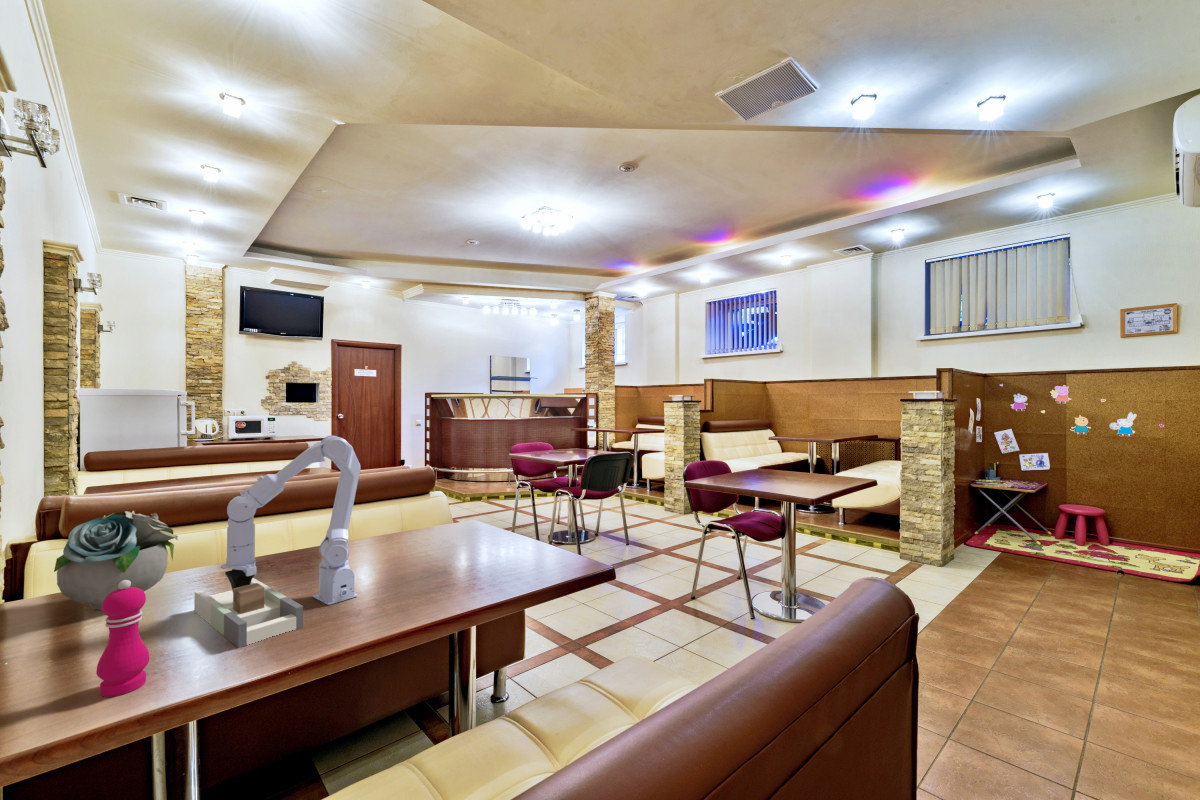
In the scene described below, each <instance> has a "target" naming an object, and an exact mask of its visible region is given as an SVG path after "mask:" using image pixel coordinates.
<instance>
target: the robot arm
mask: <svg viewBox="0 0 1200 800" xmlns="http://www.w3.org/2000/svg"><path fill="white" fill-rule="evenodd" d="M325 458H327V459H329V461H332V462H333V464H334V465H335V466H336V467H337V468H338V469H339V470H340V473H339V476H338V477H339V478H338V483H337V486H336V487H337V488H336V491H335V492H336V493H335V497H334V501H333V508H332V512H331V518H330V522H329V526H328V529H327V531H326V534H325V538H324V539H323V540H322V541H321V543H320V545H319V554H320V555H321V557H322V559H321V561H320V562H319V566H318V570H319V571H318V580H319V581H318V589H319V590H318V593H316V594H312V597H313V598H314V599H316V600H318V601H319V602H322V603H323V604H326V605H327V606H328V605H330V606H331V605H332V604H333V605H334V604H336V603H340V602H343V601H347V600H351V599H353V598H356V597H358V596H359V595H358V593H356V592H355V573H354V571H353V569H352V568H350V560H349V557H350V549H349V546H348V543H349V528H350V523H351V519H352V518H351V517H352V514H353V513H352V512H353V508H354V502H355V497H356V492H357V489H358V483H359V478H360V472H361V463H360V462H359V459H358V457H357V455H356V453H355V450H354V447H353V446H352V445H351V444H350V443H349V442H348V441H347V440H346V439H344V438H343V437H340V436H337V435H327V436H325V437H324V438H323V439H322V440H321V441H317V442H316V443H314V444H313V445H311V446H309V447H308V448H306V449H305V450H304V451H303V452H302V453H300V454H299V455H298V456H296V457H295V458H294V459H292V460H291V461H290V462H289V463H288V464H286V465H285V466H283V468H281V469H280V470H279V471H278V472H277V473H274V474H273V473H267V474H265V475H264V476H263V475H260V476H259V477H257V479H256V480H257V481H256V482H255V483H253V484H252V485H250V487H248V488H247V489H245V490H244V489H243V490H240V491H239V494H240V495H237V496H235V497H233V498H232V499H231V500H230V501H229V502H228V504H227V507H226V513H227V516H228V519H227V525H228V526H227V527H226V529H227V530H226V533H227V534H226V558H225V564H221V565H220V568H221V569H222V570H225V569H230V570H227V571H225V572H224V574H225V576H226V577H227V579H228V581H229V583H230V585H231V590H232V591H233V588H237V587H242V586H246V585H250V583H251V581H252V578H254V577H255V575H257V566H256V560H257V559H256V557H255V556H256V555H255V554H256V549H255V546H256V544H255V543H256V538H255V537H256V524H255V522H254V521H255V520H254V519H255V517H254V516H255V514H256V512H257V509H259V508H263V507H264V506H265V505H267V504H268V503H269V502H271V501H272V500H273V499H274V498H276V497H277V496H278V495H279V494H280V493H283V491H284V489H285V484H286V483H287V482H288V481H290V480H291V479H292V478H294V477H295V476H296V475H298V474H299V473H300V472H302V471H303V470H304V469H306V468H308V467H309V466H310V465H312V464H315V463H320V462H321V463H322V462H325V461H326V460H325Z"/></svg>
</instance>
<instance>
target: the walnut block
mask: <svg viewBox="0 0 1200 800" xmlns="http://www.w3.org/2000/svg"><path fill="white" fill-rule="evenodd" d="M261 608H264V587H263V586H261V585H260V584H258V583H254V584H250V585H246V586H242V587H237V588H233V609H234V610H235V611H236V612H238V613H239V614H243V613H247V612H250V611H254V610H258V609H261Z"/></svg>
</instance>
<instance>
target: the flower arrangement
mask: <svg viewBox="0 0 1200 800" xmlns="http://www.w3.org/2000/svg"><path fill="white" fill-rule="evenodd" d="M150 515H151V516H149V515H145V514H142V513H135V510H132V512H131V511H124V512H122V511H121V512H119V511H118V512H113V513H111V514H109V515H107V516H106V515H105V514H104V515H103V516H100V517H98V518H94V519H92V520H89V521H86V522H83V523H81V524H78V525H77V526H75V527H74V528H73V529H72V530H71V531H70V532H69V535H68V538H67V539H68V540H67V541H66V542H65V545H64V547H63V550H62V551H63V554H61V556H59V557H56V560H55V565H54V570H53V573H56V584H57V587H58V589H59V591H60V592H61V594H62V595H63V596H64V597H66V598H69V599H70V600H72V601H75V602H77V603H84V604H89V605H90V607H91V609H93V610H95V609H99V610H98V611H102V610H101V609H102V603H103V601H104V599H105V598H106V596H107V595H109V594H110V593H111V592H113V591H115V590H117V589H119V588H118V584H119V583H120V582H121V581H123V580H129V581H130V582H131V586H130V587H137V588H139V589H141V590H143V591H144V592H145V591H146V592H147V591H148V590H150V589H151V588H153V587H154V586H155V585H156V584H158V583H159V582H160V581H162V579H163V578H164V575H165V574H166V571H167V568H168V560H169V559H168V556H169V554H168V549H167V547H169V551H170V556H171V557H170V558H171V561H172V562H173V559H174V558H173V557H174V549H175V544H174V543H173V542H171V540H173V539H175V540H177V541H178V538H179V536H178V535H176V534H174V529H172V528H171V527H169V525H167V524H166V523H165V522H162V521H161V520H159V515H158V513H157V512H153V513H151V514H150Z"/></svg>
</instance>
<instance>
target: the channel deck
mask: <svg viewBox="0 0 1200 800" xmlns="http://www.w3.org/2000/svg"><path fill="white" fill-rule="evenodd" d="M254 583H258V584H260V585H261V586H263V587H264V608H261V609H258V610H254V611H250V612H247V613H243V614H239V613H238V612H236V611H235V610H234V609H233V591H232V589H230V590H228V591H227V590H226V591H224V592H219V593H216V594H211V595H210V594H208V592H207V593H206V591H204V590H203V589H200V590H196V591H194V597H193V598H194V602H193V603H194V610H193V611H194V612H195V613H196V614H197V615H198V616H200V618H202V619H203V620H204V621H205V622H207V623H208V624H209V625H210V626H211V627H212V628H213V629H215V630H216V631H217V632H218V633H220V634H221V635H222V636H224V638H226V639H227V640H228V641H230V643H231V644H233V645H234V646H235V645H236V646H235V647H237V648H238V649H240V647H241V648H243V646H244V647H246V645H247V646H250V645H253V644H255V642H256V643H259V642H262V641H265V640H267V639H266V638H268V639H270V638H269V637H271V638H273V637H272V636H275V637H277V636H276V635H278V636H280V635H279V634H281V635H283V634H282V633H284V634H286V633H285V632H287V633H289V631H290V632H293V631H296V630H299V629H302V628H304V606H303V605H302V604H300V603H298V602H297V601H295V600H293V599H292V598H290V597H289V596H286V595H285V594H282V593H281V592H279V591H277V590H276V589H274V588H272V587H270V586H269V585H266V584H265V583H264V582H261V581H259V580H258V579H256V578H254V577H253V578H252V581H251V583H250V584H254ZM292 630H293V631H292ZM264 639H265V640H264ZM261 640H262V641H261ZM258 641H259V642H258ZM252 643H253V644H252ZM249 644H250V645H249Z"/></svg>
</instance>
